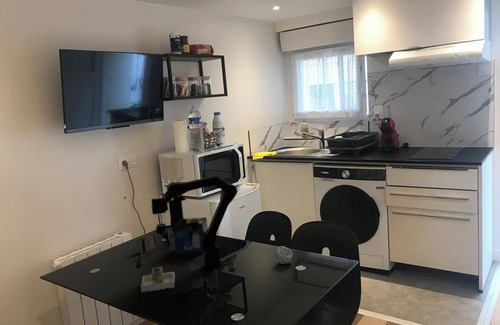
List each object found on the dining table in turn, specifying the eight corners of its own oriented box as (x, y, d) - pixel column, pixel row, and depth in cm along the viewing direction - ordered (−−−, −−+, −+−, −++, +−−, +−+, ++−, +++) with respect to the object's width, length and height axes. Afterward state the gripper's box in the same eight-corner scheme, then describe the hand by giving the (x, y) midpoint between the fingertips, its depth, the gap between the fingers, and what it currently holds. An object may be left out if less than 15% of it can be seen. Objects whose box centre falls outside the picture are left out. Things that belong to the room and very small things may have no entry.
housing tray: (174, 277, 185) (174, 271, 185) (174, 287, 174) (173, 281, 174) (143, 281, 183) (143, 275, 183) (141, 292, 172) (140, 286, 172)
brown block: (163, 279, 182) (162, 264, 181) (163, 285, 176) (161, 269, 175) (154, 281, 181) (152, 266, 180) (153, 287, 175) (151, 271, 174)
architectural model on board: (143, 254, 220) (141, 236, 219) (139, 253, 221) (136, 235, 220) (158, 247, 230) (156, 229, 228) (154, 246, 231) (152, 229, 230)
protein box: (181, 247, 225) (178, 218, 223) (209, 245, 223) (206, 217, 221) (175, 254, 215) (171, 224, 213) (204, 253, 213) (201, 223, 211)
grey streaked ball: (286, 267, 185) (285, 250, 184) (272, 265, 189) (270, 248, 188) (296, 261, 191) (294, 245, 190) (281, 259, 196) (280, 242, 195)
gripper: (153, 218, 179) (157, 253, 181) (197, 212, 182) (201, 248, 184) (155, 211, 190) (159, 245, 192) (197, 207, 192) (200, 240, 195)
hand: (179, 245), depth 190 cm, fingers open, 9 cm apart
